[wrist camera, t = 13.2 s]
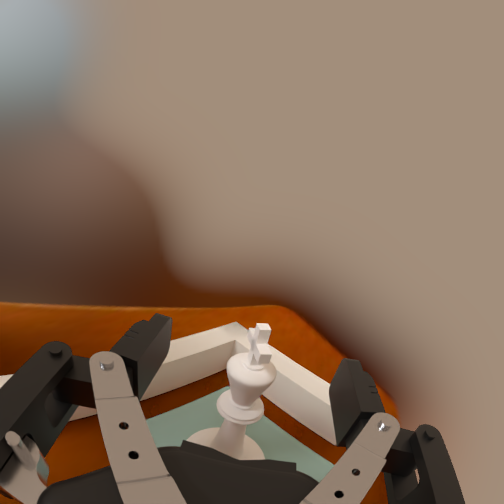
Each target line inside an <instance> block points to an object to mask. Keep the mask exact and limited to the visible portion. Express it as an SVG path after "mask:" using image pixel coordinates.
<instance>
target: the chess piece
mask: <svg viewBox="0 0 504 504" xmlns="http://www.w3.org/2000/svg"><path fill="white" fill-rule="evenodd" d="M270 333H271V329H270V327H269V325H268V324H263V323H257V324H256V328H249V331H248V335H247V338H248V341H249V343H250V346H251V347H250V350H249V353H239V354H236V355H234V356H232V357H231V358H230V359H229V360H228V362H227V376H228V379H229V383H230V389H229V390H227V391H225V392H223V393H222V394H221V395H220V397H219V398H218V400H217V404H216V406H217V410H218V412H219V413H220V415H221V416H222V417H223V418H225V419H224V421H223V423H222V425H221V427H220V428H219V427H217V428H207V429H203V430H200V431H198V432H196V433H194V434H193V435H191V436H190V437H189V438H188V439H187V440H186V441H189V442H192V443H196V444H200V445H203V446H207V447H211V448H213V449H215V450H217V451H220V452H222V453H224V454H226V455H229V456H231V457H233V458H236V459H238V460H263V459H265V457H264V454H263V452H262V450H261V448H260V447H259V446H258V444H257V443H256V442H255V441H254V440H252V439H251V438H250V437H248V436H247V435H245V431H246V426H247V425H249V424H253V423H256V422H257V421H259V420H260V419H261V418H262V416H263V414H264V405H263V402H262V400H261V399H260V398H259V397H260V396H261V394H262V393H263V392H264V391H265V390H266V389H267V388H269V387H270V385H271V384H272V383H273V382H274V380H275V378H276V375H277V372H276V368H275V366H274V365H273V363H272V362H271V361H270V359H271V356H272V353H271V351H270V349H269V347H268V345H267V343H268V340H269V336H270Z"/></svg>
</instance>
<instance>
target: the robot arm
mask: <svg viewBox="0 0 504 504" xmlns="http://www.w3.org/2000/svg"><path fill="white" fill-rule="evenodd" d="M171 329H172V318H171V317H167V316H164V315H161V314H158V313H156V314H155V315H154V316H153V317H152V318H151V319H150V321H149V322H148V321H145V320H142V321H139V322H137V323H135V324H134V325H133V326H132V327H131V328H130V329H129V331H127V332H126V333H125V335H124V336H123V337H122V338H121V339H120V340H119V341H118V342H117V343H116V344H115V345H114V346H113V347H112V349H111V350H110V351H109V352H108V351H103V352H98V353H96V354H94V355H93V356H92V357H91V358H84V357H79V356H74V355H72V351H71V348H70V347H69V346H68V345H67V344H65V343H63V342H58V341H54V342H49V343H47V344H45V345H44V346H42V347H41V348H40V349H39V350H38V351H37V352H36V353H35V354H34V355H33V356H32V357H31V358H30V359H29V360H28V361H27V362H26V363H25V364H24V365H23V366H22V367H21V368H20V369H19V370H18V371H17V372H16V373H15V374H14V375H13V376H12V377H11V378H10V379H9V380H8V381H7V382H6V383H5V384H4V385H3V386H2V387H1V388H0V493H1V494H2V495H3V496H5V497H7V498H10V499H15V500H16V501H18V502H19V503H20V504H360V502H361V501H362V500H363V498H364V497H365V495H366V494H367V492H368V491H369V489H370V488H371V486H372V484H373V483H374V481H375V480H376V478H377V476H378V475H379V473H380V471H381V472H384V478H385V484H386V490H387V497H388V504H465V501H464V498H463V495H462V492H461V489H460V485H459V482H458V480H457V477H456V473H455V470H454V468H453V465H452V462H451V459H450V457H449V454H448V451H447V449H446V446H445V444H444V441H443V439H442V436H441V434H440V432H439V431H438V430H437V429H436V428H435V427H433V426H430V425H426V424H424V425H420V426H419V427H418V428H417V429H416V430H415V432H414V431H410V430H406V429H402V428H400V425H399V422H398V421H397V420H396V419H395V418H394V417H393V416H391V415H389V414H387V413H385V410H384V407H383V404H382V402H381V399H380V396H379V394H378V391H377V388H376V385H375V383H374V380H373V378H372V377H371V376H370V375H369V374H368V373H367V372H364V371H363V369H362V366H361V363H360V361H358V360H353V359H346V358H344V359H343V360H342V361H341V363H340V365H339V367H338V369H337V371H336V373H335V375H334V377H333V379H332V381H331V384H330V387H329V399H330V405H331V411H332V417H333V424H334V430H335V437H336V444H337V446H339V447H346V449H347V451H346V452H345V453H344V454H343V456H342V457H341V458H340V459H339V460H338V462H337V463H336V464H335V465H334V466H333V468H332V469H331V470H330V471H329V472H328V473H327V474H326V476H325V477H324V478H323V479H322V480H321V481H320V482H318V481H317V480H315V479H314V478H312V477H311V476H309V475H307V474H305V473H303V472H300V471H297V470H296V463H295V462H286V461H278V460H271V459H263V460H238V459H236V458H233V457H231V456H229V455H226V454H224V453H222V452H220V451H217V450H215V449H213V448H211V447H207V446H203V445H200V444H196V443H192V442H189V441H186V440H183V441H182V444H181V447H178V446H165V447H158V448H157V447H156V445H155V442H154V440H153V437H152V435H151V432H150V430H149V427H148V425H147V422H146V420H145V417H144V414H143V411H142V409H141V406H140V403H139V401H140V400H141V398H142V396H143V395H144V393H145V391H146V390H147V388H148V386H149V385H150V383H151V381H152V380H153V378H154V376H155V375H156V373H157V372H158V370H159V368H160V367H161V365H162V363H163V362H164V360H165V358H166V357H167V354H168V352H169V348H170V339H171ZM78 406H83V407H88V408H93V409H97V414H98V418H99V423H100V427H101V432H102V436H103V440H104V444H105V447H106V451H107V455H108V458H109V461H110V466H107V467H104V468H102V469H99V470H96V471H93V472H90V473H87V474H84V475H80V476H77V477H74V478H70V479H67V480H63V481H60V482H56V483H54V484H52V485H50V486H48V487H47V477H48V474H49V465H48V463H47V461H46V459H45V456H46V455H47V453H48V452H49V450H50V449H51V447H52V445H53V444H54V442H55V441H56V439H57V438H58V436H59V435H60V433H61V432H62V430H63V429H64V427H65V426H66V424H67V423H68V421H69V420H70V418H71V417H72V415H73V414H74V412H75V411H76V409H77V408H78ZM416 469H418V473H419V478H420V480H419V484H418V482H417V478H416V474H415V470H416Z"/></svg>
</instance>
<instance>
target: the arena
mask: <svg viewBox="0 0 504 504" xmlns="http://www.w3.org/2000/svg"><path fill="white" fill-rule="evenodd" d="M248 331H249V330H247V329H246V328H244V327H243V326H242V325H240V324H239V323H237V322H234V323H231V324H227V325H224V326H221V327H218V328H214V329H211V330H207V331H204V332H201V333H197V334H194V335H190V336H187V337H183V338H179V339H176V340H172V341H170V348H169V352H168V354H167V357H166V358H165V360H164V362H163V363H162V365H161V367H160V368H159V370H158V372H157V373H156V375H155V376H154V378H153V380H152V381H151V383H150V385H149V386H148V388H147V390H146V391H145V393H144V395H143V396H142V398H141V400H140V401H142V400H145V399H148V398H151V397H154V396H157V395H159V394H162V393H165V392H168V391H171V390H173V389H176V388H179V387H182V386H184V385H187V384H189V383H192V382H195V381H197V380H200V379H202V378H205V377H207V376H210V375H212V374H215V373H217V372H219V371H222V370H224V369H226V368H227V362H228V360H229V359H230V358H231V357H232V356H234V355H236V354H239V353H249V350H250V347H251V346H250V343H249V341H248V338H247V335H248ZM267 345H268V347H269V349H270V351H271V353H272V356H271V359H270V361H271V362H272V363H273V365H274V366H275V368H276V372H277V375H276V378H275V380H274V382H273V383H272V384H271V385H270V387H269V388H267V389H266V390H265V391H264V392H263V393H262V395H263V396H265V397H266V398H267V399H269V400H270V401H271V402H273V403H274V404H275V405H277V406H278V407H279V408H281V409H282V410H284V411H285V412H286V413H288V414H289V415H290V416H292V417H293V418H295V419H296V420H297V421H299V422H300V423H302V424H303V425H305V426H306V427H308V428H309V429H311V430H312V431H314V432H315V433H317V434H318V435H320V436H321V437H323V438H324V439H326V440H327V441H329V442H330V443H332V444H333V445H336V437H335V430H334V424H333V417H332V411H331V405H330V399H329V387H330V384H329V383H327V382H326V381H324V380H322V379H321V378H319V377H318V376H316V375H315V374H313V373H311V372H310V371H308V370H307V369H305V368H304V367H302V366H300V365H299V364H297V363H296V362H294V361H293V360H291V359H290V358H288V357H287V356H285V355H284V354H282V353H281V352H279V351H278V350H276V349H275V348H273V347H272V346H270V345H269V344H267ZM13 375H14V374H11V375H4V376H0V388H1V387H2V386H3V385H4V384H5V383H6V382H7V381H8V380H9V379H10V378H11V377H12V376H13ZM229 389H230V387H229V386H226V387H224V388H222V389H220V390H218V391H215V392H213V393H211V394H209V395H207V396H204V397H202V398H200V399H197V400H195V401H193V402H190V403H188V404H186V405H183V406H181V407H178V408H176V409H173V410H171V411H168V412H166V413H163V414H160V415H158V416H155V417H152V418H150V419H147V420H146V422H147V425H148V427H149V430H150V432H151V435H152V437H153V440H154V442H155V445H156V447H157V448H158V447H165V446H178V447H181V444H182V441H183V440H187V439H188V438H189V437H190V436H191V435H193V434H194V433H196V432H198V431H200V430H203V429H207V428H217V427H219V428H220V427H221V425H222V423H223V421H224V419H225V418H223V417H222V416H221V415H220V413H219V412H218V410H217V406H216V404H217V400H218V398H219V397H220V395H221V394H222V393H223V392H225V391H227V390H229ZM95 414H97V409H93V408H88V407H83V406H78V408H77V409H76V411H75V412H74V414H73V415H72V417H71V418H70V420H69V421H72V420H76V419H80V418H84V417H88V416H91V415H95ZM245 435H247V436H248V437H250V438H251V439H252V440H254V441H255V442H256V443H257V444H258V446H259V447H260V448H261V450H262V452H263V454H264V457H265V459H271V460H278V461H286V462H295V463H296V470H297V471H300V472H303V473H305V474H307V475H309V476H311V477H312V478H314V479H315V480H317V481H318V482H320V481H321V480H322V479H323V478H324V477H325V476H326V474H327V473H328V472H329V471H330V470H331V469H332V468H333V466H334V464H332V463H331V462H329V461H327V460H326V459H324V458H323V457H321V456H320V455H318V454H317V453H315V452H314V451H312V450H311V449H309V448H308V447H306V446H305V445H303V444H302V443H301V442H299V441H298V440H296V439H295V438H294V437H292V436H291V435H289V434H288V433H287V432H285V431H284V430H283V429H281V428H280V427H279V426H277V425H276V424H275V423H273V422H272V421H271V420H269V419H268V418H267V417H265V416H264V415H263V416H262V418H261V419H260V420H259V421H257V422H256V423H253V424H249V425H247V426H246V431H245Z"/></svg>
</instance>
